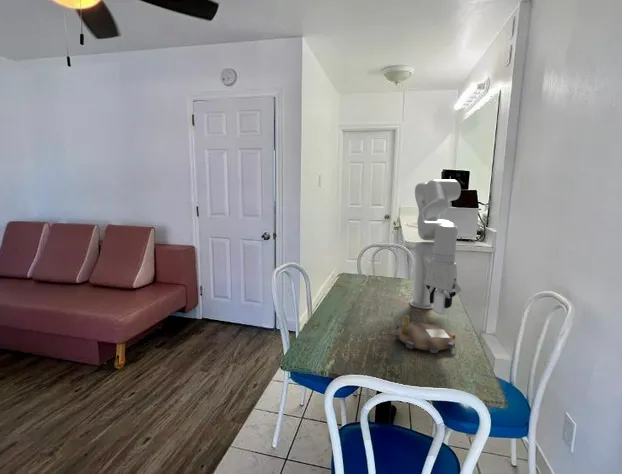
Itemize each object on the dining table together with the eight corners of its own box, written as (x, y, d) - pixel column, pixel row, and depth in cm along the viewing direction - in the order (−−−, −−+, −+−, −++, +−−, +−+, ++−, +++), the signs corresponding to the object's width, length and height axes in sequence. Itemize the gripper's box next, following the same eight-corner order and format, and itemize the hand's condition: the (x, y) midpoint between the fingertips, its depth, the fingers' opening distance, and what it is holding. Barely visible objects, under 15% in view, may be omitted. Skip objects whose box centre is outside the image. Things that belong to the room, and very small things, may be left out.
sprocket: (401, 352, 124) (403, 329, 122) (388, 325, 146) (389, 305, 145) (466, 353, 124) (468, 329, 122) (443, 325, 146) (444, 305, 145)
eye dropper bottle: (434, 314, 130) (436, 283, 128) (431, 309, 136) (434, 279, 133) (446, 315, 129) (449, 284, 127) (443, 309, 135) (446, 279, 133)
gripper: (417, 255, 133) (414, 300, 136) (460, 264, 120) (456, 314, 123) (429, 252, 138) (426, 296, 141) (471, 261, 124) (467, 309, 128)
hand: (440, 304), depth 132 cm, fingers closed on eye dropper bottle, 5 cm apart
